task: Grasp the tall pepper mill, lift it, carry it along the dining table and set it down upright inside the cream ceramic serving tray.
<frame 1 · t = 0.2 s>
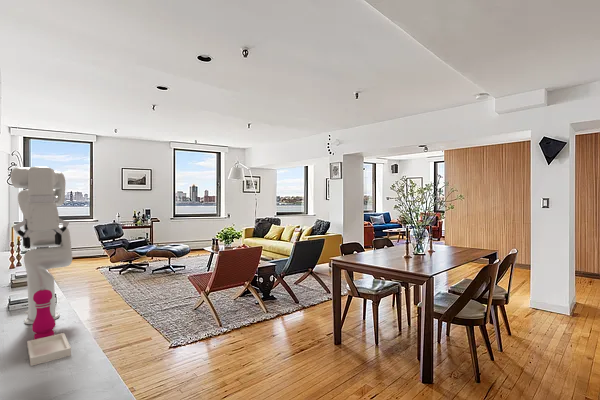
hand: (43, 246, 130), 36 cm above the table, tool pointing down, fingers open, 9 cm apart
tray: (48, 351, 123), on the table
pepper mill: (44, 338, 135), on the table
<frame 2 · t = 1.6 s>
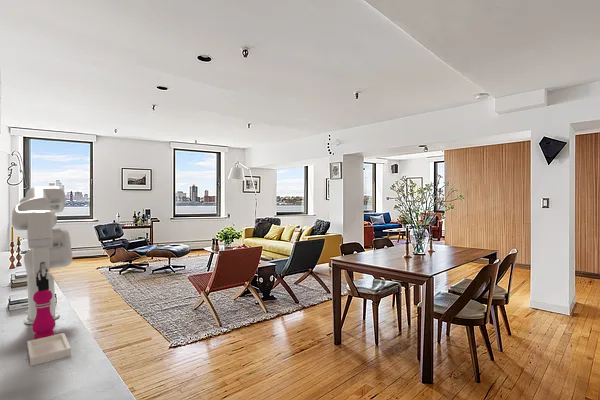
hand: (42, 288, 134), 19 cm above the table, tool pointing down, fingers open, 9 cm apart
nothing on the table moved.
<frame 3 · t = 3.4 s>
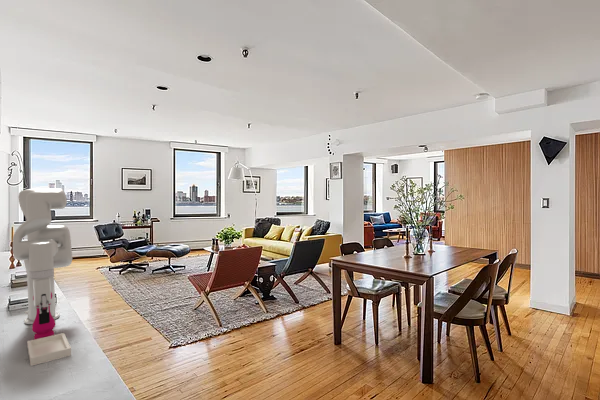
hand: (43, 320, 135), 7 cm above the table, tool pointing down, fingers closed on pepper mill, 5 cm apart
pepper mill: (44, 338, 135), on the table, touching gripper
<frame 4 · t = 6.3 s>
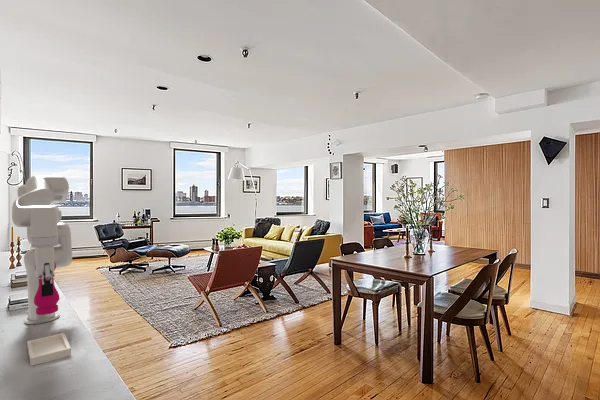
hand: (46, 293, 122), 20 cm above the table, tool pointing down, fingers closed on pepper mill, 5 cm apart
pepper mill: (47, 312, 122), point 14 cm above the table, touching gripper
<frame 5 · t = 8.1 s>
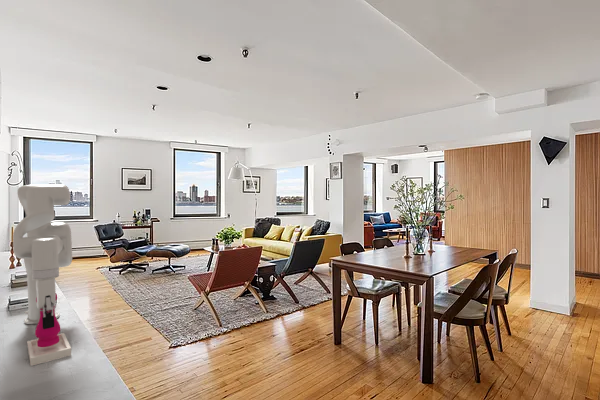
hand: (47, 324, 122), 9 cm above the table, tool pointing down, fingers closed on pepper mill, 5 cm apart
pepper mill: (48, 344, 123), point 3 cm above the table, touching gripper
when the fingers open (9 cm above the table, at t = 9.1 s): pepper mill drops 1 cm, resting on tray.
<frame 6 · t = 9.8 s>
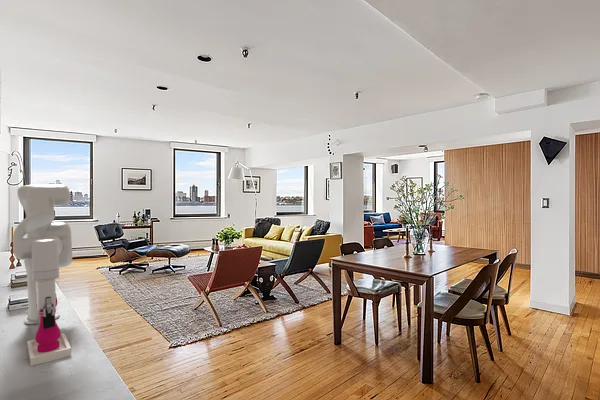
hand: (47, 323, 122), 10 cm above the table, tool pointing down, fingers open, 9 cm apart
pepper mill: (48, 349, 123), point 1 cm above the table, touching tray
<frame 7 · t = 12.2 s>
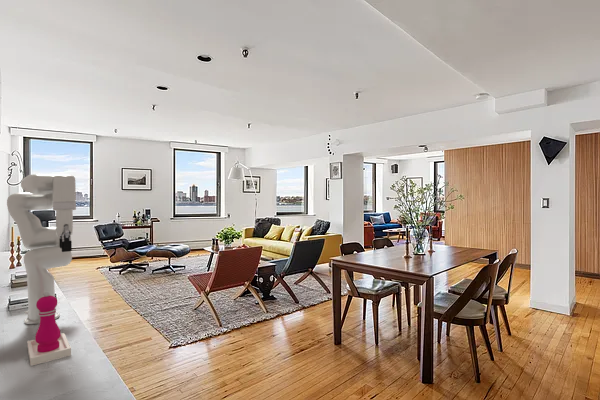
hand: (65, 249, 139), 33 cm above the table, tool pointing down, fingers open, 9 cm apart
nothing on the table moved.
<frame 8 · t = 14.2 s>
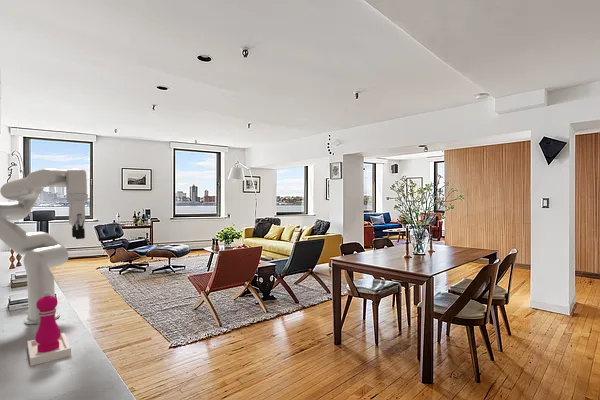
hand: (78, 237, 151), 36 cm above the table, tool pointing down, fingers open, 9 cm apart
nothing on the table moved.
at the end: pepper mill 0.2 cm from the tray (horizontally); pepper mill tilted 0°; pepper mill point 0.8 cm above the table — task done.
